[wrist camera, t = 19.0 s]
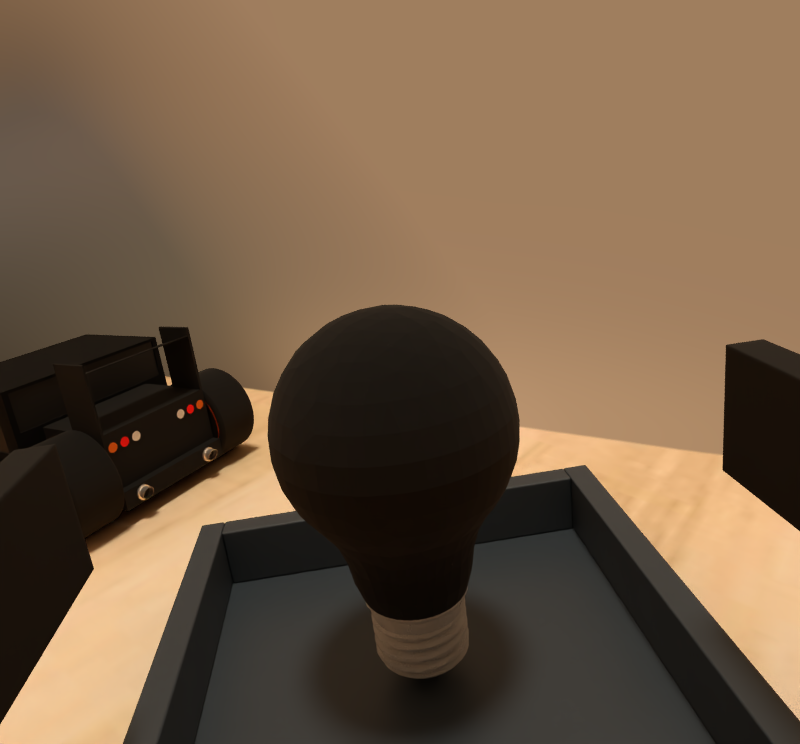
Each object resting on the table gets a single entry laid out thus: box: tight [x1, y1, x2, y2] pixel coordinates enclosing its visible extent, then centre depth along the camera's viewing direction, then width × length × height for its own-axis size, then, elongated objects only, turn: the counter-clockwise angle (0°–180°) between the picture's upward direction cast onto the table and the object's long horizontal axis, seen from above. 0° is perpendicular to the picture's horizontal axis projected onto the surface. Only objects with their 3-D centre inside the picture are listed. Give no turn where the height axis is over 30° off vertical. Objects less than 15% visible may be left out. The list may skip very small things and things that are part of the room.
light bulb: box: [268, 305, 519, 679], centre depth 16 cm, size 6×6×10 cm
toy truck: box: [0, 327, 254, 538], centre depth 35 cm, size 10×20×7 cm, turn 60°
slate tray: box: [123, 465, 800, 744], centre depth 18 cm, size 14×13×3 cm
